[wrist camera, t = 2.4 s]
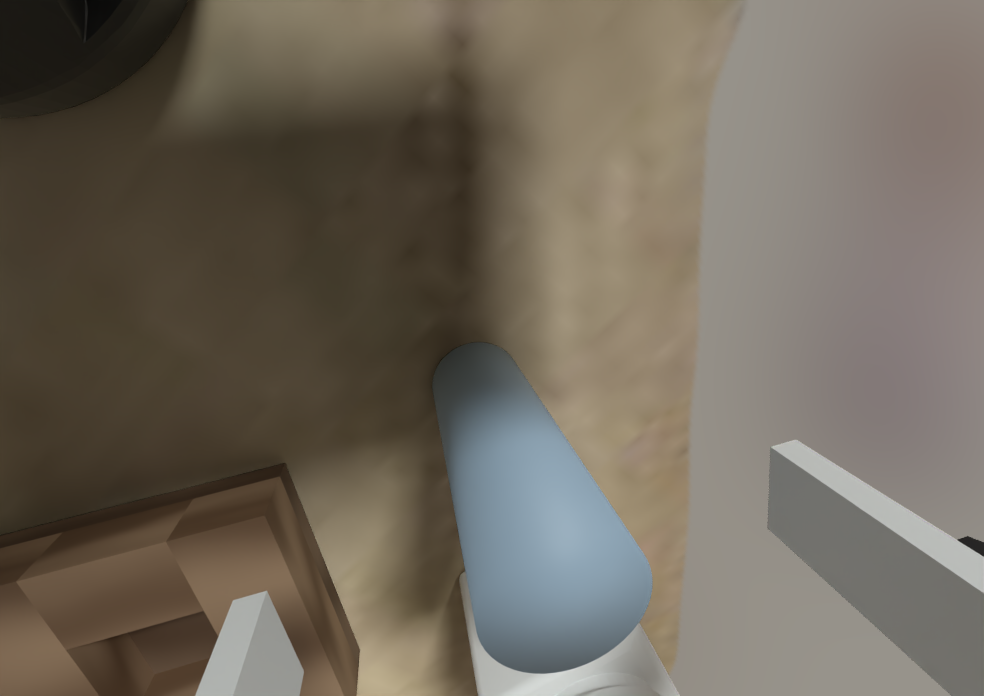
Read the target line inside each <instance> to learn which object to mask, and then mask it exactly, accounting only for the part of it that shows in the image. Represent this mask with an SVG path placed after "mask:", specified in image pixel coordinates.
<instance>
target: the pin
mask: <svg viewBox="0 0 984 696" xmlns="http://www.w3.org/2000/svg"><path fill="white" fill-rule="evenodd" d="M432 390H433V396H434V401H435V407H436V412H437V418H438V423H439V429H440V434H441V440H442V445H443V451H444V456H445V462H446V467H447V473H448V478H449V484H450V489H451V495H452V500H453V506H454V511H455V517H456V522H457V528H458V533H459V539H460V544H461V550H462V555H463V561H464V566H465V572H466V577H467V582H468V588H469V593H470V599H471V604H472V610H473V615H474V621H475V626H476V632H477V635H478V638H479V641H480V643H481V645H482V646H483V648H484V650H485V651H486V652H487V653H488V654H489V655H490V656H491V657H492V658H493V659H494V660H496V661H497V662H498V663H500V664H502V665H504V666H506V667H508V668H511V669H513V670H517V671H520V672H525V673H533V674H547V673H557V672H562V671H567V670H571V669H574V668H577V667H580V666H583V665H585V664H588V663H590V662H592V661H594V660H596V659H598V658H600V657H601V656H603V655H605V654H607V653H608V652H609V651H611V650H612V649H614V648H615V647H616V646H617V645H619V644H620V643H621V642H622V641H623V640H624V639H625V638H626V637H627V636H628V635H629V634H630V633H631V632H632V631H633V630H634V628H635V627H636V626H637V624H638V623H639V622H640V620H641V618H642V617H643V615H644V613H645V611H646V609H647V607H648V604H649V601H650V598H651V592H652V573H651V569H650V566H649V563H648V561H647V559H646V557H645V555H644V554H643V552H642V551H641V549H640V548H639V546H638V545H637V543H636V542H635V540H634V539H633V537H632V536H631V534H630V533H629V531H628V530H627V528H626V527H625V525H624V524H623V522H622V521H621V519H620V518H619V516H618V515H617V513H616V512H615V510H614V509H613V507H612V506H611V504H610V503H609V501H608V500H607V499H606V497H605V496H604V494H603V493H602V491H601V490H600V488H599V487H598V485H597V484H596V482H595V481H594V479H593V478H592V476H591V475H590V473H589V472H588V470H587V469H586V467H585V466H584V464H583V463H582V461H581V460H580V458H579V457H578V455H577V454H576V452H575V451H574V449H573V448H572V446H571V445H570V443H569V442H568V440H567V439H566V437H565V436H564V434H563V433H562V431H561V430H560V428H559V427H558V425H557V424H556V422H555V421H554V419H553V418H552V416H551V415H550V413H549V412H548V410H547V409H546V408H545V406H544V405H543V403H542V402H541V400H540V399H539V397H538V396H537V394H536V393H535V391H534V390H533V388H532V387H531V385H530V384H529V382H528V381H527V379H526V378H525V376H524V375H523V373H522V372H521V370H520V369H519V367H518V366H517V364H516V363H515V361H514V360H513V358H512V357H511V356H510V355H509V354H508V353H507V352H506V351H505V350H503V349H502V348H500V347H498V346H496V345H493V344H489V343H483V342H475V343H468V344H465V345H462V346H460V347H457V348H456V349H454V350H452V351H451V352H450V353H448V354H447V355H446V356H445V357H444V358H443V359H442V360H441V362H440V363H439V365H438V366H437V368H436V371H435V373H434V377H433V383H432Z"/></svg>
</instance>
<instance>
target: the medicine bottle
mask: <svg viewBox="0 0 984 696" xmlns="http://www.w3.org/2000/svg"><path fill="white" fill-rule="evenodd" d="M459 582H460V589H461V595H462V601H463V607H464V613H465V619H466V625H467V632H468V638H469V644H470V650H471V656H472V662H473V668H474V675H475V681H476V687H477V693H478V696H680V695H679V693H678V691H677V689H676V688H675V686H674V684H673V682H672V680H671V679H670V677H669V675H668V673H667V671H666V670H665V668H664V666H663V664H662V662H661V661H660V659H659V657H658V655H657V653H656V652H655V650H654V648H653V646H652V644H651V643H650V641H649V639H648V637H647V635H646V634H645V632H644V630H643V628H642V626H641V625H640V623H638V624H637V626H636V627H635V628H634V630H633V631H632V632H631V633H630V634H629V635H628V636H627V637H626V638H625V639H624V640H623V641H622V642H621V643H620V644H619V645H617V646H616V647H615V648H614V649H612V650H611V651H609V652H608V653H607V654H605V655H603V656H601V657H600V658H598V659H596V660H594V661H592V662H590V663H588V664H585V665H583V666H580V667H577V668H574V669H571V670H567V671H562V672H557V673H547V674H533V673H525V672H520V671H517V670H513V669H511V668H508V667H506V666H504V665H502V664H500V663H498V662H497V661H496V660H494V659H493V658H492V657H491V656H490V655H489V654H488V653H487V652H486V651H485V650H484V648H483V646H482V645H481V643H480V641H479V638H478V635H477V632H476V626H475V621H474V615H473V610H472V604H471V599H470V593H469V588H468V582H467V577H466V572H463V573H462V574H461V575H460V578H459Z"/></svg>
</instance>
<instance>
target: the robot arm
mask: <svg viewBox="0 0 984 696" xmlns="http://www.w3.org/2000/svg"><path fill="white" fill-rule="evenodd" d="M187 1H188V0H0V118H15V117H25V116H34V115H40V114H45V113H50V112H55V111H59V110H62V109H66V108H69V107H73V106H76V105H78V104H81V103H83V102H86V101H89V100H91V99H93V98H95V97H97V96H99V95H101V94H103V93H105V92H107V91H109V90H110V89H112V88H114V87H115V86H117V85H119V84H120V83H122V82H123V81H124V80H126V79H127V78H128V77H130V76H131V75H132V74H134V73H135V72H136V71H137V70H138V69H139V68H140V67H142V66H143V65H144V64H145V63H146V62H147V61H148V60H149V59H150V58H151V57H152V56H153V54H154V53H155V52H156V51H157V50H158V49H159V48H160V46H161V45H162V44H163V42H164V41H165V40H166V38H167V37H168V36H169V34H170V33H171V31H172V29H173V28H174V26H175V24H176V23H177V21H178V19H179V18H180V16H181V14H182V12H183V10H184V7H185V5H186V3H187ZM768 529H769V530H770V531H771V532H772V533H773V534H774V535H775V536H777V537H778V538H779V539H780V540H781V541H782V542H783V543H784V544H785V545H786V546H788V547H789V548H790V549H791V550H792V551H793V552H794V553H795V554H796V555H797V556H799V557H800V558H801V559H802V560H803V561H804V562H805V563H806V564H807V565H808V566H810V567H811V568H812V569H813V570H814V571H815V572H816V573H817V574H818V575H819V576H821V577H822V578H823V579H824V580H825V581H826V582H827V583H828V584H829V585H831V587H833V588H834V589H835V590H836V591H837V592H838V593H839V594H840V595H841V596H842V597H844V598H845V599H846V600H847V601H848V602H849V603H850V604H851V605H852V606H853V607H855V608H856V609H857V610H858V611H859V612H860V613H861V614H862V615H863V616H864V617H866V618H867V619H868V620H869V621H870V622H871V623H872V624H873V625H874V626H875V627H877V628H878V629H879V630H880V631H881V632H882V633H883V634H884V635H885V636H886V637H888V638H889V639H890V640H891V641H892V642H893V643H894V644H895V645H896V646H897V647H899V648H900V649H901V650H902V651H903V652H904V653H905V654H906V655H907V656H908V657H910V658H911V659H912V660H913V661H914V662H915V663H916V664H917V665H918V666H920V667H921V668H922V669H923V670H924V671H925V672H926V673H927V674H928V675H929V676H930V677H931V678H933V679H934V680H935V681H936V682H937V683H938V684H939V685H940V686H941V687H942V688H944V689H945V690H946V691H947V692H948V693H949V694H950V695H951V696H984V542H981V541H979V540H976V539H973V538H971V537H968V536H967V537H964V538H961V539H958V540H956V539H954V538H953V537H951V536H950V535H948V534H946V533H945V532H943V531H942V530H940V529H938V528H937V527H935V526H934V525H932V524H930V523H929V522H927V521H926V520H924V519H922V518H921V517H919V516H918V515H916V514H914V513H913V512H911V511H910V510H907V509H906V508H905V507H903V506H902V505H900V504H898V503H897V502H895V501H893V500H892V499H890V498H889V497H887V496H885V495H884V494H882V493H881V492H879V491H877V490H875V489H874V488H873V487H871V486H869V485H868V484H866V483H865V482H863V481H861V480H860V479H858V478H857V477H855V476H853V475H852V474H850V473H849V472H847V471H845V470H844V469H842V468H841V467H839V466H837V465H836V464H834V463H833V462H831V461H829V460H828V459H826V458H824V457H823V456H821V455H820V454H818V453H816V452H815V451H813V450H812V449H810V448H809V447H807V446H805V445H804V444H802V443H801V442H799V441H797V440H793V441H789V442H786V443H782V444H779V445H775V446H772V447H770V474H769V501H768ZM303 674H304V670H303V668H302V666H301V664H300V661H299V659H298V657H297V655H296V653H295V651H294V648H293V646H292V644H291V642H290V640H289V638H288V635H287V633H286V631H285V629H284V627H283V625H282V622H281V620H280V618H279V616H278V614H277V612H276V609H275V607H274V605H273V603H272V601H271V599H270V596H269V594H268V592H267V591H264V592H260V593H257V594H253V595H250V596H246V597H243V598H239V599H236V600H233V601H232V604H231V606H230V609H229V611H228V614H227V616H226V619H225V622H224V624H223V627H222V629H221V632H220V634H219V637H218V639H217V642H216V644H215V647H214V649H213V652H212V654H211V657H210V659H209V662H208V664H207V667H206V669H205V672H204V675H203V677H202V680H201V682H200V685H199V687H198V690H197V692H196V695H195V696H300V690H301V685H302V680H303Z"/></svg>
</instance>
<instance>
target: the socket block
mask: <svg viewBox="0 0 984 696" xmlns="http://www.w3.org/2000/svg"><path fill="white" fill-rule="evenodd" d="M264 591H267V592H268V594H269V596H270V599H271V601H272V603H273V605H274V607H275V609H276V612H277V614H278V616H279V618H280V620H281V622H282V625H283V627H284V629H285V631H286V633H287V635H288V638H289V640H290V642H291V644H292V646H293V648H294V651H295V653H296V655H297V657H298V659H299V661H300V664H301V666H302V668H303V670H304V674H303V680H302V685H301V690H300V696H356V694H357V680H358V667H359V653H360V649H359V647H358V644H357V642H356V639H355V637H354V634H353V632H352V629H351V627H350V624H349V622H348V619H347V617H346V614H345V612H344V609H343V607H342V604H341V602H340V599H339V597H338V594H337V592H336V589H335V587H334V584H333V582H332V579H331V577H330V574H329V572H328V569H327V567H326V564H325V562H324V559H323V557H322V554H321V552H320V549H319V547H318V544H317V542H316V539H315V537H314V534H313V532H312V529H311V527H310V524H309V522H308V519H307V517H306V514H305V512H304V509H303V507H302V504H301V502H300V499H299V497H298V494H297V492H296V489H295V487H294V484H293V482H292V479H291V477H290V474H289V472H288V469H287V467H286V464H285V463H284V464H280V465H276V466H273V467H269V468H265V469H261V470H257V471H253V472H249V473H245V474H241V475H237V476H233V477H229V478H225V479H221V480H217V481H213V482H210V483H206V484H202V485H198V486H194V487H190V488H186V489H182V490H178V491H174V492H170V493H166V494H162V495H158V496H154V497H151V498H147V499H143V500H139V501H135V502H131V503H127V504H123V505H119V506H115V507H111V508H107V509H103V510H99V511H95V512H92V513H88V514H84V515H80V516H76V517H72V518H68V519H64V520H60V521H56V522H52V523H48V524H44V525H40V526H36V527H33V528H29V529H25V530H21V531H17V532H13V533H9V534H5V535H1V536H0V696H195V695H196V692H197V690H198V687H199V685H200V682H201V680H202V677H203V675H204V672H205V669H206V667H207V664H208V662H209V659H210V657H211V654H212V652H213V649H214V647H215V644H216V642H217V639H218V637H219V634H220V632H221V629H222V627H223V624H224V622H225V619H226V616H227V614H228V611H229V609H230V606H231V604H232V601H233V600H236V599H239V598H243V597H246V596H250V595H253V594H257V593H260V592H264Z"/></svg>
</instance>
